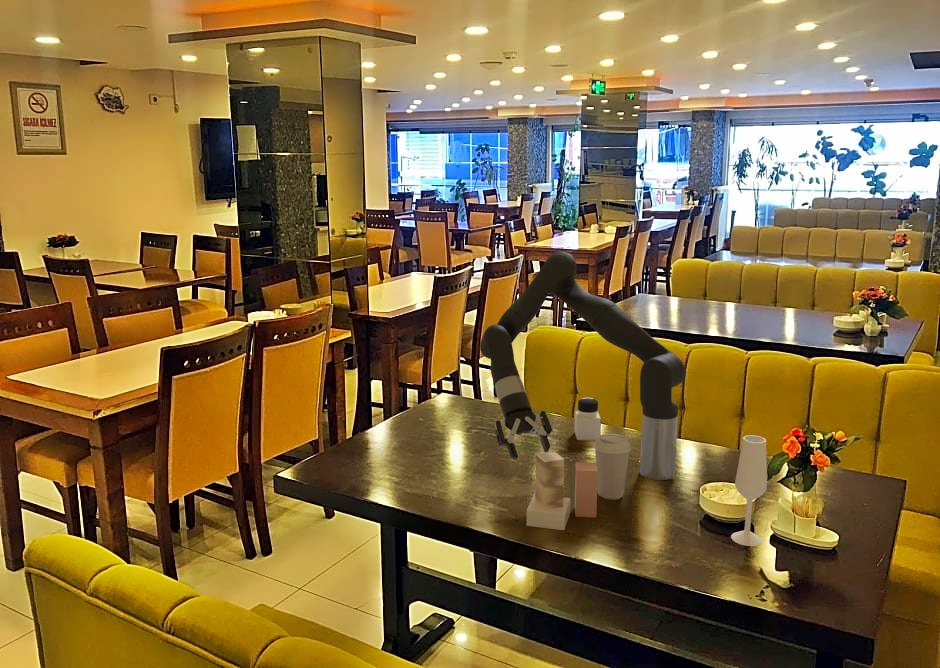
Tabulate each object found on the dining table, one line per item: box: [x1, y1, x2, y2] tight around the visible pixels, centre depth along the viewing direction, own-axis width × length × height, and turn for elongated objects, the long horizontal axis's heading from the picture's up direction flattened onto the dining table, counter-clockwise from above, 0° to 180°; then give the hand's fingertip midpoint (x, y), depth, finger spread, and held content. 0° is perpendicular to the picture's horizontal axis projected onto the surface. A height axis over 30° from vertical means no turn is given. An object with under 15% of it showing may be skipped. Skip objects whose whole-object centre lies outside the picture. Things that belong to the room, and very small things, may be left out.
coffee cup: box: [593, 433, 632, 500], centre depth 195 cm, size 10×10×15 cm
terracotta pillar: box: [574, 461, 598, 518], centre depth 186 cm, size 5×5×12 cm
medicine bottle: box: [573, 397, 602, 441], centre depth 236 cm, size 7×7×12 cm
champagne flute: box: [730, 434, 768, 547], centre depth 171 cm, size 7×7×24 cm
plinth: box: [526, 494, 571, 531], centre depth 183 cm, size 9×9×4 cm
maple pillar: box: [534, 451, 565, 510], centre depth 182 cm, size 5×5×12 cm
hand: (531, 454), depth 194 cm, fingers open, 8 cm apart
